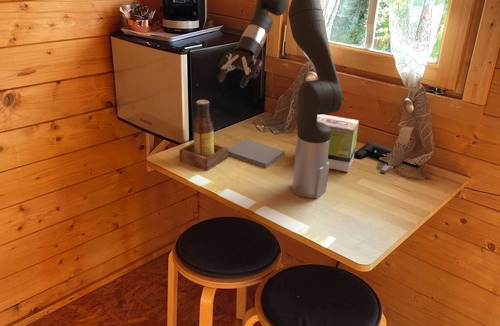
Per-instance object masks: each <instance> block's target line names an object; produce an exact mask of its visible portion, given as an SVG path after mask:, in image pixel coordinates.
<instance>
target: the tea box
mask: <svg viewBox="0 0 500 326" xmlns="http://www.w3.org/2000/svg"><path fill="white" fill-rule="evenodd" d="M317 121H318V122H321V123H324V124H326V125H327V126H329V127H330V129H331V138H330V145H329V152H328V160H327V161H328V162H330V165H329V170H330V169H331V170H336V171H340V172H345V173H348V172H349V171H350V168H351V166H352V163H353V161H354V158H355V157H354V153H355V152H356V146H357V138H358V131H359V126H360V125H359V123H360V119H353V118H347V117H341V116H335V115H330V114H329V115H328V114H321V115H317Z"/></svg>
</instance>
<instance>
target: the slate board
mask: <svg viewBox="0 0 500 326" xmlns="http://www.w3.org/2000/svg"><path fill="white" fill-rule="evenodd" d="M285 155H286V151H285V150H283V149H280V148H278V147H277V148H276V147H273V146H269V145H266V144H265V143H259V142H257V141H254V140H251V139H247V138H244V139H242V140H241V141H239V142H237V143H235V144H233V145H231V146H230V147H228V157H231V158H234V159H238V160H241V161H243V162H247V163H250V164H253V165H255V166H259V167H262V168H265V169H267V168H269V167H270V166H271V165H273V164H274V163H275V162H277V161H279V160H280V159H281V158H282V157H284V156H285Z"/></svg>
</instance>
